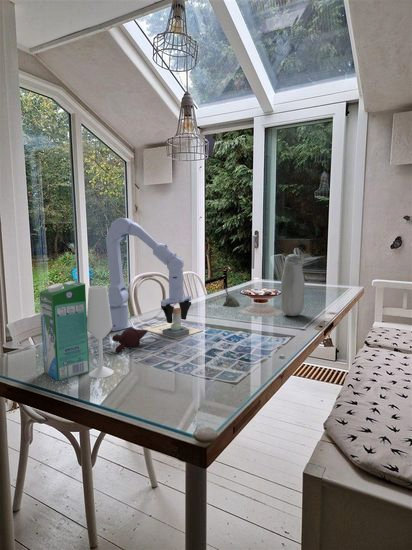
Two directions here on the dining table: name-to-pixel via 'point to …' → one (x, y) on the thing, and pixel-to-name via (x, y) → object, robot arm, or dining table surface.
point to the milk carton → (64, 330)
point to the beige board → (159, 328)
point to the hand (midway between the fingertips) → (176, 321)
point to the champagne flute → (99, 324)
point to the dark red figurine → (128, 338)
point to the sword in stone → (230, 301)
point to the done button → (175, 327)
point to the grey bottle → (292, 286)
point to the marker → (177, 316)
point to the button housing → (175, 334)
